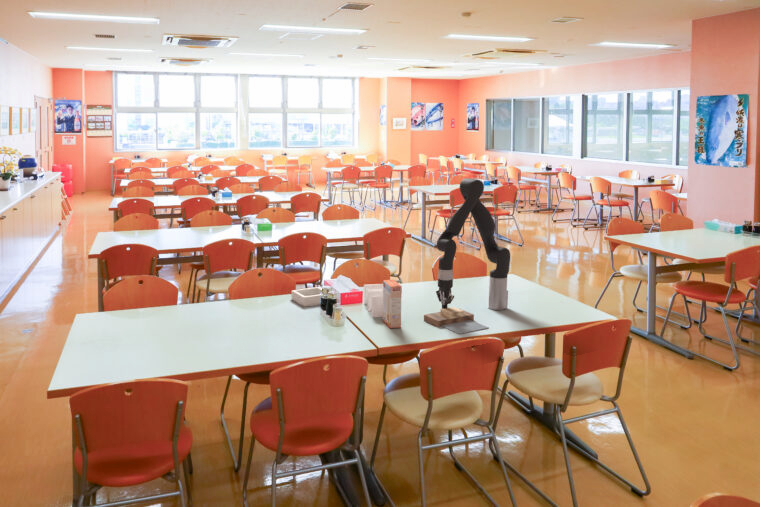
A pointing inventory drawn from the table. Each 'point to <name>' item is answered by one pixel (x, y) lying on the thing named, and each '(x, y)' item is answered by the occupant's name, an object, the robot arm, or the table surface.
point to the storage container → (374, 299)
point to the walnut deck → (441, 320)
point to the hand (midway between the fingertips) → (444, 311)
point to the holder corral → (307, 296)
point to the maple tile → (451, 312)
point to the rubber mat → (465, 327)
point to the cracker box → (392, 303)
